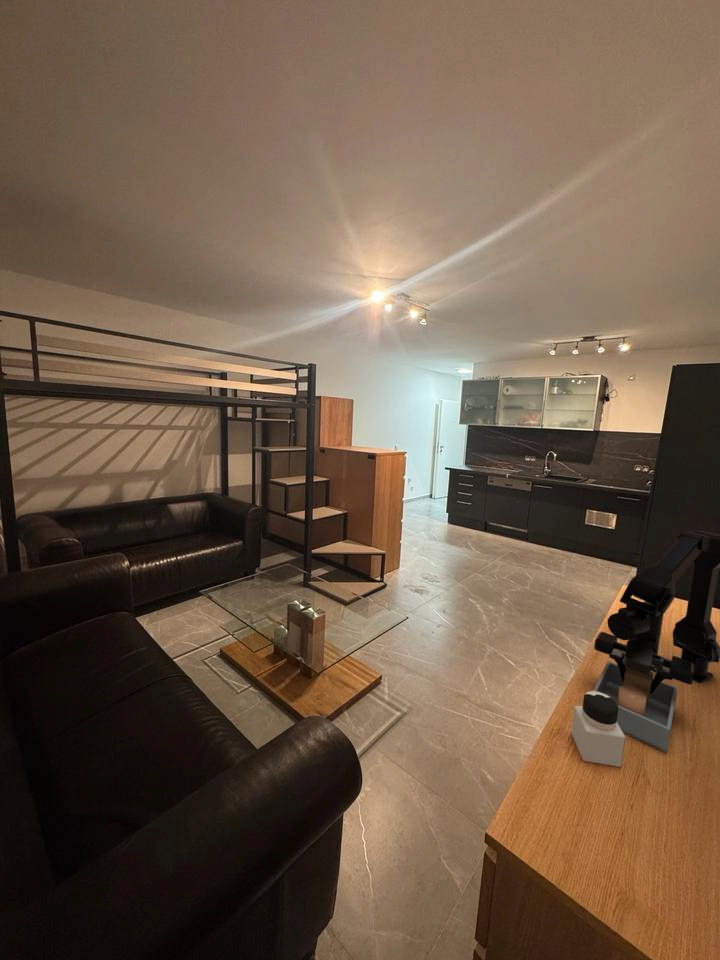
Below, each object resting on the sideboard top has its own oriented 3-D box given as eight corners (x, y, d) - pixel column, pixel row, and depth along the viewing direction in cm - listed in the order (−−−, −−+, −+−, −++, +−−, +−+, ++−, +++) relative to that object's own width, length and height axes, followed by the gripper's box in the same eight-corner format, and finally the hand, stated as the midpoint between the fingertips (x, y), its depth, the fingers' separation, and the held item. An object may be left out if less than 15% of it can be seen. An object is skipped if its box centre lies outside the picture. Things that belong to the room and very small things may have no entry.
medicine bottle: (622, 768, 75) (629, 715, 73) (582, 761, 76) (588, 709, 74) (606, 738, 82) (612, 689, 80) (570, 733, 83) (576, 684, 81)
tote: (605, 679, 100) (607, 660, 99) (674, 708, 90) (677, 687, 89) (588, 715, 88) (591, 695, 87) (666, 753, 78) (670, 730, 77)
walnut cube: (626, 681, 95) (628, 663, 94) (651, 691, 92) (653, 672, 91) (622, 691, 92) (625, 672, 91) (648, 702, 88) (650, 682, 87)
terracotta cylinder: (615, 709, 89) (618, 682, 88) (641, 717, 87) (644, 690, 86) (617, 723, 85) (620, 695, 84) (644, 732, 82) (648, 703, 81)
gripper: (591, 626, 90) (585, 685, 92) (696, 661, 77) (684, 728, 80) (602, 609, 98) (596, 664, 100) (698, 638, 85) (688, 700, 87)
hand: (637, 687), depth 92 cm, fingers closed on walnut cube, 5 cm apart
